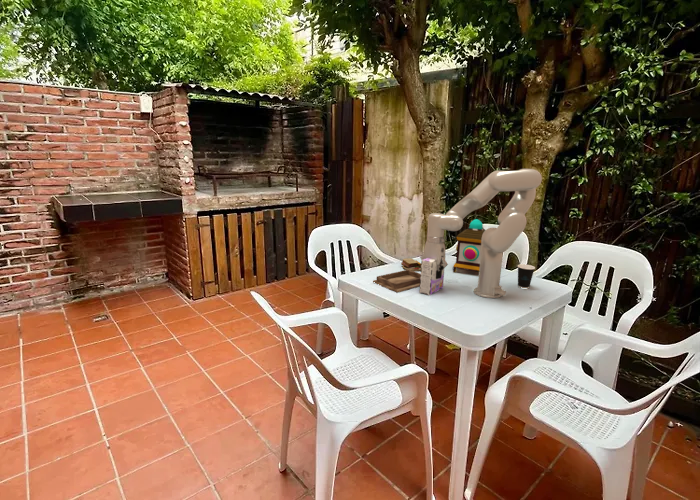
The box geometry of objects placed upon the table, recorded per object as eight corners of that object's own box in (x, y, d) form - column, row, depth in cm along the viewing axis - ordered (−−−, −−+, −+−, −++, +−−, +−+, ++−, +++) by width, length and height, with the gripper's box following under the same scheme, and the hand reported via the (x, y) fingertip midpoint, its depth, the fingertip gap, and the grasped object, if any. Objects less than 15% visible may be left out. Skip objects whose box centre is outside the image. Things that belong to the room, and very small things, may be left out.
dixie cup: (525, 284, 190) (528, 263, 187) (535, 289, 182) (538, 268, 179) (511, 285, 188) (514, 264, 185) (521, 290, 180) (524, 269, 178)
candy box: (432, 285, 186) (434, 253, 182) (443, 288, 182) (445, 255, 178) (418, 292, 175) (420, 259, 171) (430, 295, 172) (432, 261, 168)
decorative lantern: (486, 278, 198) (492, 223, 191) (449, 272, 207) (454, 219, 200) (492, 269, 215) (498, 218, 208) (458, 264, 224) (463, 215, 217)
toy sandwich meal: (409, 272, 207) (409, 264, 206) (397, 266, 219) (398, 258, 218) (428, 270, 211) (429, 262, 210) (416, 264, 223) (416, 257, 222)
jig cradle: (431, 283, 189) (432, 276, 188) (397, 292, 175) (397, 285, 174) (406, 274, 203) (406, 268, 202) (372, 282, 189) (373, 275, 188)
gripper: (455, 242, 168) (452, 279, 172) (426, 235, 182) (424, 270, 186) (444, 244, 164) (441, 282, 168) (415, 237, 177) (413, 273, 182)
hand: (432, 275), depth 177 cm, fingers closed on candy box, 6 cm apart
